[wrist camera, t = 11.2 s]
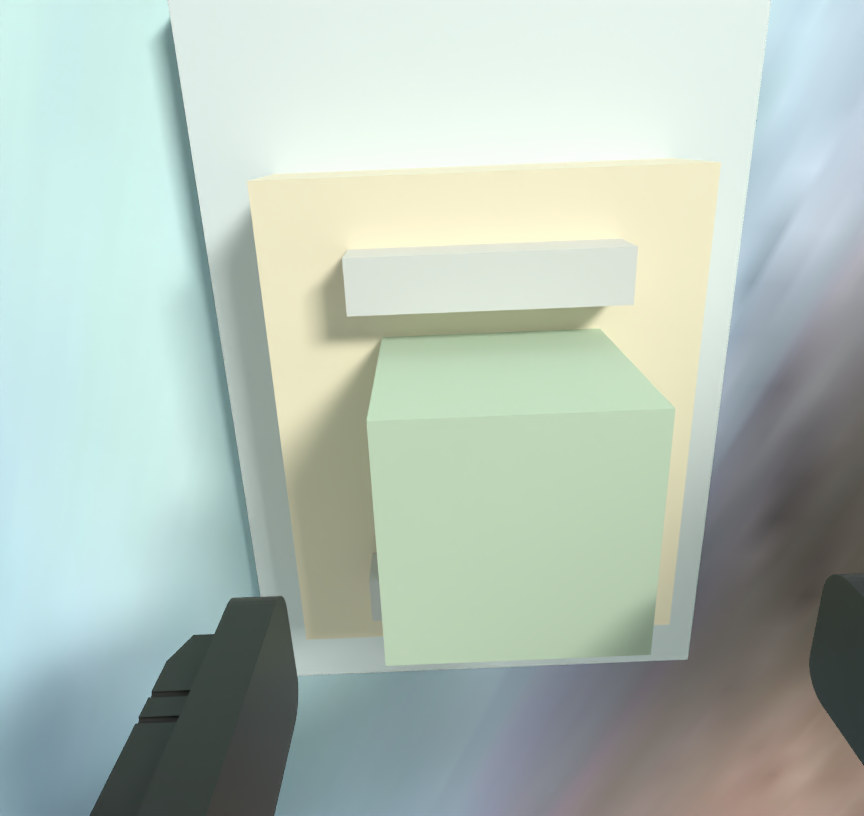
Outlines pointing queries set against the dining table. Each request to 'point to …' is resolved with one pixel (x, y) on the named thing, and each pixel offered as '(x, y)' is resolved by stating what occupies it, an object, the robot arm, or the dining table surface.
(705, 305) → the base
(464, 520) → the sage cube
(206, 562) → the dining table surface
